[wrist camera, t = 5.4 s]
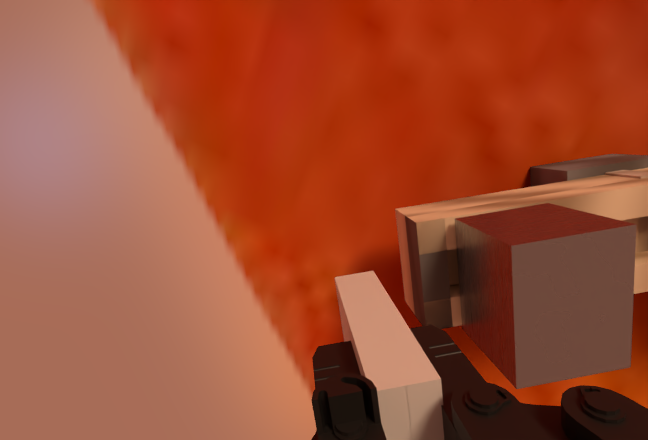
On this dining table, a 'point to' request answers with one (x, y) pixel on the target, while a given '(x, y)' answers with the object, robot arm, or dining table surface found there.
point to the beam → (546, 187)
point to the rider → (547, 291)
